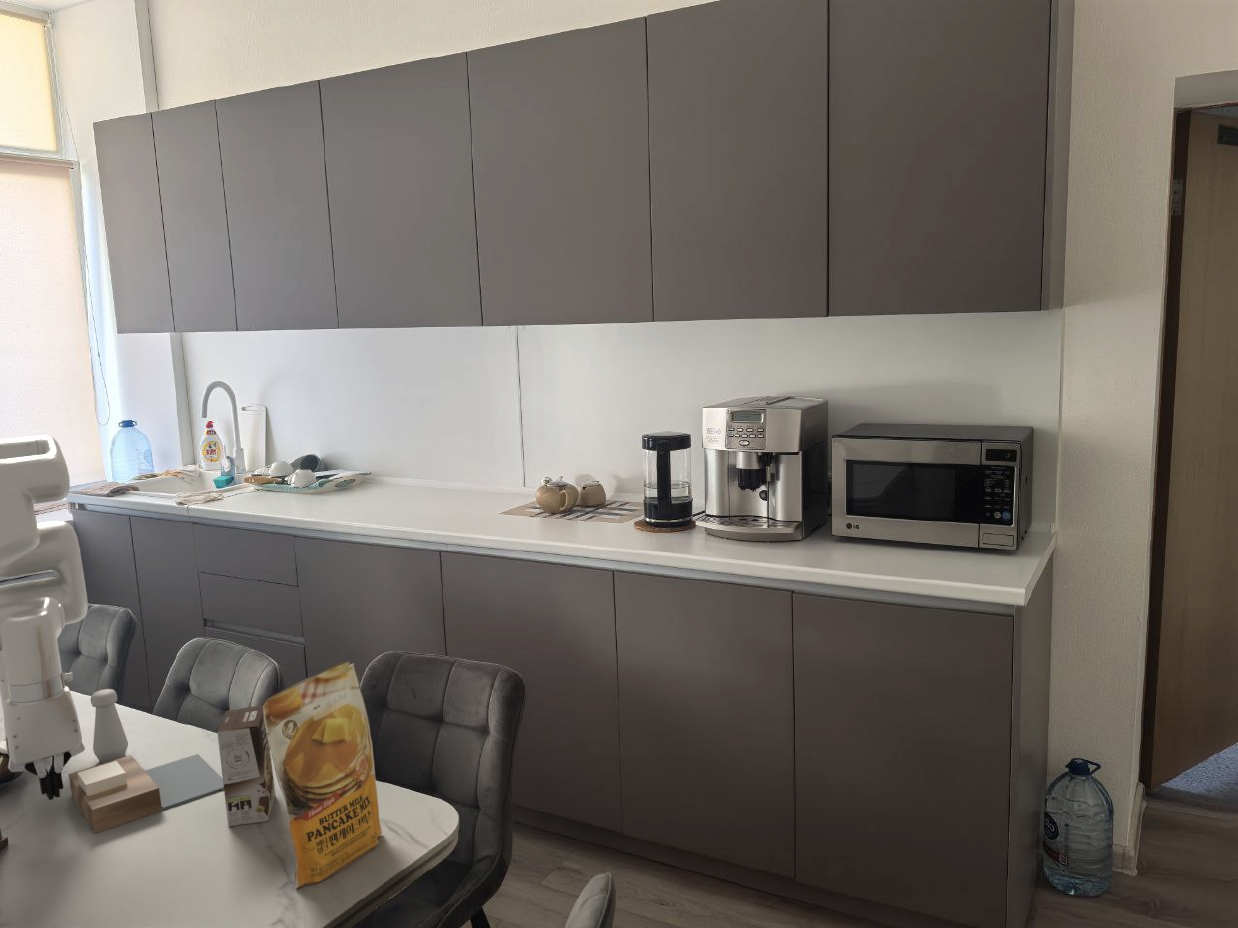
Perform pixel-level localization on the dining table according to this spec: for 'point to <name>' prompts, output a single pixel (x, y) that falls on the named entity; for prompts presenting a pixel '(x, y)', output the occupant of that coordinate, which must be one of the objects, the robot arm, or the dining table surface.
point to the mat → (185, 780)
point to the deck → (118, 797)
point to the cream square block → (102, 778)
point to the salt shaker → (108, 727)
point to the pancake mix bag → (325, 770)
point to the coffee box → (246, 766)
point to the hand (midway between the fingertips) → (53, 795)
